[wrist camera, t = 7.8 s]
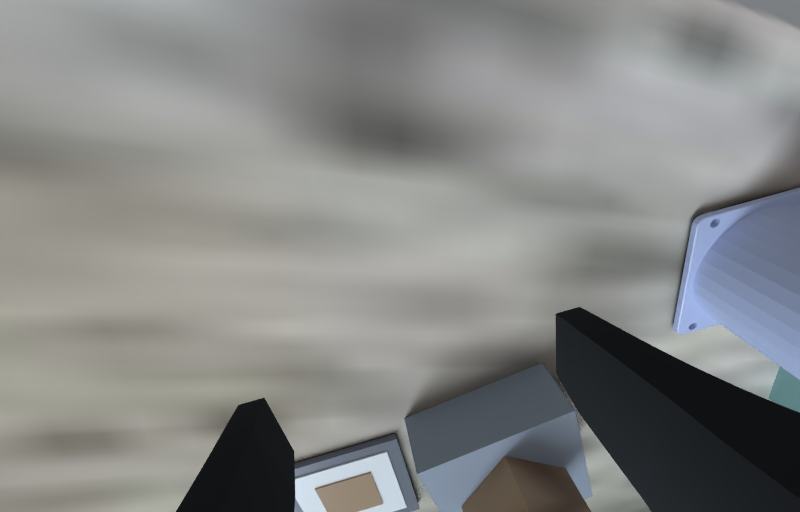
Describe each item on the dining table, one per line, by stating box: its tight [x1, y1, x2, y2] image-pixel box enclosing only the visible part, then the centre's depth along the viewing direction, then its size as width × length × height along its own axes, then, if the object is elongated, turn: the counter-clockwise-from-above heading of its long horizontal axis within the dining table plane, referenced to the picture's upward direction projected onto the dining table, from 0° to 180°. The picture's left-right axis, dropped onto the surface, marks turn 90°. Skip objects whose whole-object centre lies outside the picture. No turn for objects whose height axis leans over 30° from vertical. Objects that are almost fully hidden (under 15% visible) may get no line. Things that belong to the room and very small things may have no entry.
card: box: [294, 434, 420, 512], centre depth 26 cm, size 8×8×1 cm
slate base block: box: [405, 363, 592, 512], centre depth 25 cm, size 9×9×4 cm
